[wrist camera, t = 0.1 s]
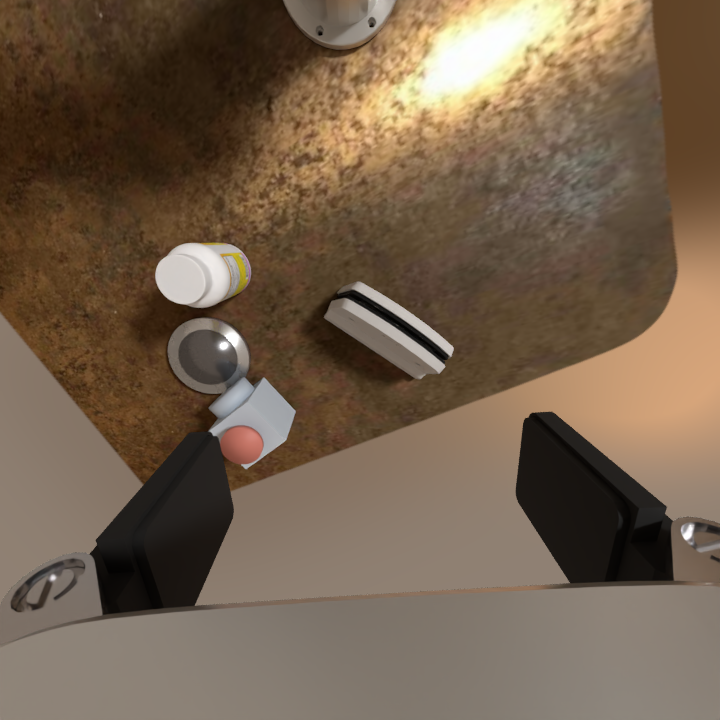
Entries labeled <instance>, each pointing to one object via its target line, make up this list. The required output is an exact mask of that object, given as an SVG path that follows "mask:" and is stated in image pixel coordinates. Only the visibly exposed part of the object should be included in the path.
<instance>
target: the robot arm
mask: <svg viewBox="0 0 720 720" xmlns="http://www.w3.org/2000/svg"><path fill="white" fill-rule="evenodd" d="M283 2H284V4H285V7H286V9H287V11H288V13H289V15H290V17H291V18H292V20H293V21H294V23H295V24H296V26H297V27H298V28H299V29H300V30H301V31H302V32H303V34H304V35H305V36H307V37H308V38H309V39H311V40H312V41H314V42H315V43H317V44H319V45H321V46H324V47H326V48H331V49H336V50H344V49H351V48H355V47H358V46H360V45H362V44H364V43H366V42H368V41H369V40H370V39H372V38H373V37H374V36H375V35H376V34H377V33H378V32H379V31H380V30H381V29H382V27H383V26H384V25H385V24H386V22H387V20H388V18H389V17H390V15H391V13H392V11H393V8H394V5H395V2H396V0H283ZM370 25H373V26H374V27H373V28H371V27H369V26H370ZM319 33H322V34H323V35H321V36H318V34H319ZM516 497H517V500H518V503H519V504H520V506H521V507H522V509H523V510H524V512H525V514H526V515H527V517H528V518H529V520H530V521H531V523H532V525H533V526H534V528H535V529H536V531H537V532H538V534H539V535H540V537H541V538H542V540H543V542H544V543H545V545H546V546H547V548H548V549H549V551H550V552H551V554H552V556H553V557H554V559H555V560H556V562H557V563H558V565H559V566H560V568H561V570H562V571H563V573H564V574H565V576H566V577H567V579H568V580H569V582H570V583H568V584H550V585H530V586H512V587H493V588H473V589H454V590H439V591H420V592H405V593H404V592H403V593H388V594H371V595H370V594H369V595H353V596H337V597H320V598H304V599H290V600H274V601H258V602H243V603H228V604H213V605H201V606H195V603H196V601H197V599H198V597H199V594H200V592H201V590H202V587H203V585H204V583H205V581H206V578H207V576H208V574H209V571H210V569H211V567H212V565H213V562H214V560H215V558H216V555H217V553H218V551H219V548H220V546H221V544H222V542H223V539H224V537H225V535H226V533H227V530H228V528H229V526H230V524H231V521H232V519H233V513H234V509H233V502H232V498H231V493H230V488H229V484H228V479H227V474H226V470H225V465H224V460H223V456H222V451H221V446H220V442H219V438H218V437H217V436H213V434H212V433H211V432H210V431H209V432H192V433H189V434H188V435H187V436H186V437H185V438H184V439H183V441H182V442H181V443H180V444H179V445H178V446H177V447H176V449H175V450H174V451H173V452H172V453H171V454H170V456H169V457H168V458H167V459H166V460H165V461H164V462H163V464H162V465H161V466H160V467H159V468H158V469H157V470H156V472H155V473H154V474H153V475H152V476H151V477H150V478H149V480H148V481H147V482H146V483H145V484H144V485H143V486H142V488H141V489H140V490H139V491H138V492H137V493H136V495H135V496H134V497H133V498H132V499H131V500H130V501H129V503H128V504H127V505H126V506H125V507H124V508H123V509H122V511H121V512H120V513H119V514H118V515H117V516H116V518H115V519H114V520H113V521H112V522H111V523H110V524H109V526H108V527H107V528H106V529H105V530H104V532H102V534H101V535H100V536H99V537H98V538H97V539H96V542H97V546H96V547H95V548H94V550H93V551H92V552H91V553H90V554H87V553H77V552H75V553H71V554H66V555H62V556H60V557H57V558H55V559H52V560H50V561H48V562H46V563H44V564H42V565H40V566H39V567H37V568H35V569H34V570H32V571H31V572H29V573H28V574H27V575H25V576H24V577H22V578H21V580H19V581H18V582H17V583H16V584H15V585H14V586H13V587H12V588H11V589H10V590H9V591H8V593H7V594H6V595H5V597H4V598H3V600H2V602H1V605H0V720H720V523H717V522H715V521H711V520H707V519H703V518H697V517H681V518H678V519H676V520H674V521H672V520H671V519H670V518H669V517H668V516H666V515H665V511H666V508H667V507H666V506H665V505H664V504H663V503H662V502H660V501H659V500H658V499H657V498H656V497H654V496H653V495H652V494H651V493H649V492H648V491H647V490H646V489H645V488H644V487H642V486H641V485H640V484H639V483H638V482H636V481H635V480H634V479H633V478H632V477H630V476H629V475H628V474H627V473H626V472H624V471H623V470H622V469H621V468H620V467H618V466H617V465H616V464H615V463H614V462H612V461H611V460H610V459H608V457H606V456H605V455H604V454H603V453H601V452H600V451H599V450H598V449H597V448H595V447H594V446H593V445H592V444H591V443H590V442H588V441H587V440H586V439H585V438H583V437H582V436H581V435H580V434H579V433H578V432H576V431H575V430H574V429H573V428H572V427H570V426H569V425H568V424H566V423H565V422H564V421H563V420H562V419H561V418H559V417H558V416H557V415H556V414H555V413H553V412H540V413H539V412H538V413H531V414H530V416H529V418H525V420H524V423H523V431H522V440H521V448H520V457H519V466H518V475H517V483H516Z"/></svg>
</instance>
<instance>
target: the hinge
mask: <svg viewBox="0 0 720 720" xmlns="http://www.w3.org/2000/svg"><path fill="white" fill-rule="evenodd" d="M337 293H338V296H337V297H339V299H335V300H334V301H331V303H330V306H329V308H328V311H327V313H326V314H325V316H324V318H325V319H326V320H328V321H329V322H331V323H332V324H334V325H335V326H337V327H338V328H340V329H341V330H343V331H344V332H346V333H347V334H349V335H350V336H352V337H353V338H355V339H356V340H358V341H359V342H361V343H363V344H364V345H366V346H367V347H369V348H370V349H372V350H373V351H375V352H376V353H378V354H379V355H381V356H382V357H384V358H385V359H387V360H388V361H390V362H391V363H393V364H394V365H396V366H397V367H399V368H400V369H402V370H403V371H405V372H406V373H408V374H409V375H411V376H412V377H414V378H415V379H421V378H422V377H423V376H425V375H426V374H439V373H440V372H441V371H442V370H443V369H444V368H445V365H444V364H445V361H444V360H447V359H448V358H451V356H452V353H453V350H454V348H453V347H452V346H451V345H450V344H449V343H448V342H447V341H446V340H445V339H444V338H442V337H441V336H440V335H439V334H438V333H436V332H435V331H434V330H433V329H431V328H430V327H429V326H428V325H426V324H425V323H424V322H422V321H421V320H420V319H418V318H417V317H415V316H414V315H413V314H411V313H410V312H408V311H407V310H405V309H404V308H403V307H401V306H399V305H398V304H396V303H395V302H393V301H392V300H390V299H389V298H387V297H385V296H384V295H382V294H381V293H379V292H377V291H375V290H374V289H372V288H370V287H368V286H367V285H365V284H363V283H361V282H355V283H352V284H349V285H346V286H343V287H342V288H341V289H340V290H339V291H338V292H337Z"/></svg>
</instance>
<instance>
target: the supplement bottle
mask: <svg viewBox="0 0 720 720" xmlns="http://www.w3.org/2000/svg"><path fill="white" fill-rule="evenodd" d="M155 277H156V283H157V286H158V288H159V290H160V291H161V292H162V294H163V295H164V296H165V297H166V298H168V299H169V300H171V301H173V302H175V303H178V304H186V305H188V306H191V307H196V308H206V307H210V306H213V305H215V304H217V303H219V302H221V301H224V300H226V299H228V298H230V297H232V296H235V295H237V294H239V293H240V292H242V291H243V290H244V289H245V288H246V287H247V285H248V283H249V281H250V277H251V268H250V264H249V261H248V259H247V257H246V256H245V255H244V253H243V252H242V251H241V250H239V249H238V248H237V247H235V246H233V245H230V244H226V243H187V244H182V245H180V246H177V247H176V248H174V249H173V250H172V251H171V252H170V253H169V254H168V256H167V257H165V258H163V259H162V260H161V261H160V262H159V264H158V266H157V268H156V274H155Z"/></svg>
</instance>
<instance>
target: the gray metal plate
mask: <svg viewBox="0 0 720 720" xmlns="http://www.w3.org/2000/svg"><path fill="white" fill-rule="evenodd" d="M168 358H169V362H170V365H171V367H172V369H173V371H174V373H175V374H176V375H177V377H178V378H179V379H180V380H181V381H182V382H183V383H185V384H186V385H187V386H189V387H190V388H192V389H194V390H197V391H199V392H203V393H208V394H219V393H224V392H225V391H226V390H227V389H228V388H230V387H231V386H232V385H233V384H235V383H236V382H237V381H239V380H240V379H241V378H243V377H245V376H246V375H247V373H248V371H249V368H250V363H251V354H250V349H249V346H248V344H247V342H246V340H245V338H244V337H243V335H242V334H241V333H240V332H239V331H238V330H237V329H236V328H235V327H234V326H232V325H231V324H229V323H228V322H226V321H223V320H221V319H218V318H213V317H199V318H194V319H192V320H189V321H187V322H185V323H183V324H182V325H180V326H179V327H178V328H177V329H176V330H175V331H174V333H173V334H172V336H171V338H170V340H169V344H168Z"/></svg>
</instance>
